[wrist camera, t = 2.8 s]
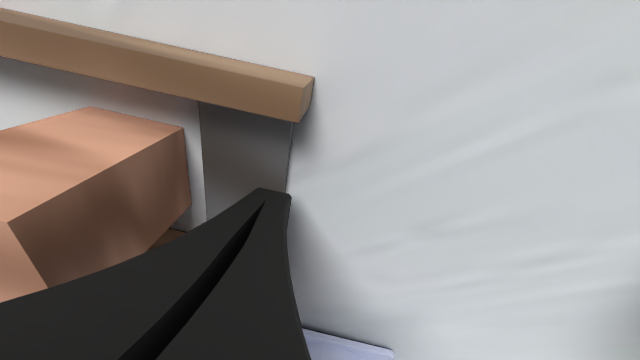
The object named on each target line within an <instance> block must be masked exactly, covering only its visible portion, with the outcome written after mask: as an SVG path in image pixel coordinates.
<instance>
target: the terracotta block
mask: <svg viewBox="0 0 640 360" xmlns="http://www.w3.org/2000/svg"><path fill="white" fill-rule="evenodd" d="M191 205H192V202H191V193H190V184H189V175H188V166H187V157H186V148H185V139H184V130H183V127H178V126H174V125H169V124H165V123H161V122H156V121H152V120H148V119H143V118H139V117H134V116H130V115H126V114H121V113H117V112H112V111H108V110H104V109H99V108H95V107H90V106H89V107H86V108H82V109H78V110H75V111H71V112H67V113H64V114H60V115H56V116H53V117H49V118H45V119H42V120H38V121H34V122H31V123H27V124H23V125H20V126H16V127H12V128H8V129H5V130H1V131H0V303H1V302H4V301H7V300H11V299H14V298H17V297H21V296H24V295H27V294H31V293H34V292H37V291H41V290H44V289H47V288H50V287H54V286H57V285H60V284H63V283H66V282H69V281H72V280H75V279H77V278H80V277H83V276H86V275H89V274H92V273H95V272H97V271H100V270H103V269H106V268H108V267H111V266H114V265H116V264H119V263H121V262H124V261H126V260H128V259H131V258H133V257H136V256H138V255H140V254H143V253H145V252H146V251H147V250H148V249H149V248H150V247H151V246H152V245H153V244H154V243H155V241H156V240H157V239H158V238H159V237H160V236H161V235H162V234H163V233H164V232H165V231H166V230H167V229H168V228H169V227H170V226H171V225H172V224H173V223H174V222H175V221H176V220H177V219H178V218H179V217H180V216H181V215H182V214H183V213H184V212H185V211H186V210H187V209H188V208H189V207H190V206H191Z"/></svg>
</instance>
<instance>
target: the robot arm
mask: <svg viewBox="0 0 640 360" xmlns="http://www.w3.org/2000/svg"><path fill="white" fill-rule="evenodd" d="M291 199H292V197H291V196H290V194H287V193H282V192H278V191H274V190H269V189H265V188H261V187H258V188H256V189H255V190H253V191H252V192H250V193H249V194H248V195H246V196H245V197H243V198H242V199H240V200H239V201H238V202H236V203H235V204H233V205H232V206H230V207H229V208H227V209H226V210H224V211H223V212H221V213H219V214H218V215H216V216H215V217H213V218H212V219H210V220H208V221H206V222H205V223H203V224H201V225H200V226H198V227H196V228H194V229H193V230H191V231H189V232H187V233H185V234H183V235H182V236H180V237H178V238H176V239H174V240H172V241H170V242H168V243H165V244H163V245H161V246H159V247H157V248H155V249H152V250H150V251H148V252H145V253H143V254H140V255H138V256H136V257H133V258H131V259H128V260H126V261H124V262H121V263H119V264H116V265H114V266H111V267H108V268H106V269H103V270H100V271H97V272H95V273H92V274H89V275H86V276H83V277H80V278H77V279H75V280H72V281H69V282H66V283H63V284H60V285H57V286H54V287H50V288H47V289H44V290H41V291H37V292H34V293H31V294H27V295H24V296H21V297H17V298H14V299H11V300H7V301H4V302H1V303H0V360H395V357H394V352H393V351H391V350H389V349H385V348H381V347H377V346H373V345H369V344H364V343H360V342H356V341H352V340H348V339H344V338H340V337H336V336H331V335H327V334H323V333H319V332H315V331H311V330H307V329H303V328H302V326H301V322H300V318H299V314H298V309H297V305H296V301H295V297H294V292H293V287H292V281H291V275H290V269H289V261H288V251H287V225H288V218H289V212H290V205H291Z"/></svg>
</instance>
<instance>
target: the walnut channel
mask: <svg viewBox="0 0 640 360" xmlns="http://www.w3.org/2000/svg"><path fill="white" fill-rule="evenodd" d="M0 56H2V57H7V58H11V59H16V60H20V61H25V62H29V63H33V64H38V65H42V66H47V67H51V68H56V69H60V70H65V71H69V72H73V73H78V74H82V75H87V76H91V77H96V78H100V79H105V80H109V81H113V82H118V83H122V84H127V85H131V86H136V87H140V88H145V89H149V90H154V91H158V92H162V93H167V94H171V95H176V96H180V97H185V98H189V99H194V100H198V104H199V118H200V132H201V145H202V159H203V173H204V186H205V200H206V214H207V221H208V220H210V219H212V218H213V217H215V216H216V215H218V214H219V213H221V212H223V211H224V210H226V209H227V208H229V207H230V206H232V205H233V204H235V203H236V202H238V201H239V200H240V199H242V198H243V197H245V196H246V195H248V194H249V193H250V192H252V191H253V190H255V189H256V188H258V187H261V188H265V189H269V190H274V191H278V192H282V193H285V186H286V178H287V171H288V163H289V156H290V148H291V140H292V133H293V125H294V122H296V123H299V121H300V120H301V118H302V117H303V116H304V114H305V113H306V111H307V110H308V108H309V107H310V102H311V96H312V90H313V84H314V77H312V76H307V75H303V74H298V73H294V72H289V71H285V70H280V69H276V68H271V67H267V66H262V65H258V64H253V63H249V62H244V61H239V60H235V59H230V58H226V57H221V56H217V55H212V54H208V53H203V52H199V51H194V50H190V49H185V48H180V47H176V46H171V45H167V44H162V43H158V42H153V41H149V40H144V39H140V38H135V37H131V36H126V35H122V34H117V33H112V32H108V31H103V30H99V29H94V28H90V27H85V26H81V25H76V24H72V23H67V22H63V21H58V20H54V19H49V18H44V17H40V16H35V15H31V14H26V13H22V12H17V11H13V10H8V9H4V8H0ZM185 233H186V232H182V231H178V230H174V229H169V228H168V229H167V230H166V231H165V232H164V233H163V234H162V235H161V236H160V237H159V238H158V239H157V240H156V241H155V243H154V244H153V245H152V246H151V247H150V248H149V249H148V250H147V251H146V252H148V251H150V250H152V249H155V248H157V247H159V246H161V245H163V244H165V243H168V242H170V241H172V240H174V239H176V238H178V237H180V236H182V235H183V234H185Z"/></svg>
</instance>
